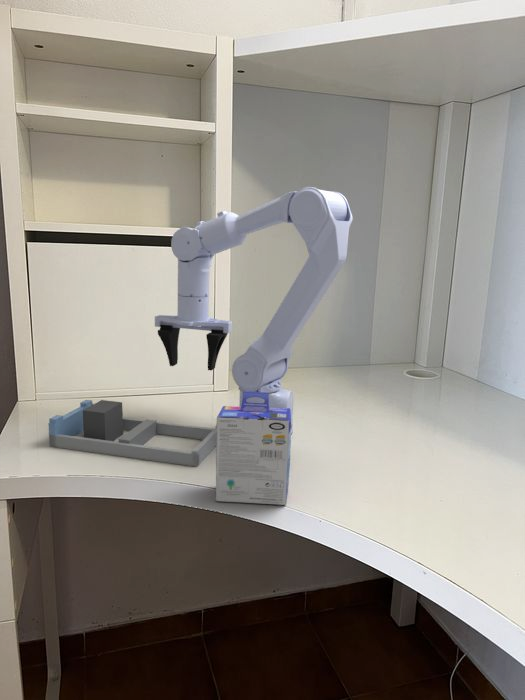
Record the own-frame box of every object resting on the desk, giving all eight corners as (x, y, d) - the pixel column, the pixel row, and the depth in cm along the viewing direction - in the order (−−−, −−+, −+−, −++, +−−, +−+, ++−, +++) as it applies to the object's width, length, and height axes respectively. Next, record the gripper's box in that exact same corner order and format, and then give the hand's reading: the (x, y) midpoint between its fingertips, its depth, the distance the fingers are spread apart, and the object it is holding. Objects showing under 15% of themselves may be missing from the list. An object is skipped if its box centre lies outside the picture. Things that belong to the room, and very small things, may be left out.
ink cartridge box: (288, 488, 79) (292, 391, 76) (288, 506, 73) (292, 403, 70) (220, 484, 79) (221, 387, 76) (214, 502, 74) (215, 399, 71)
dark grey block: (123, 434, 97) (122, 402, 96) (105, 447, 91) (104, 412, 90) (102, 432, 98) (101, 399, 97) (84, 444, 92) (82, 410, 91)
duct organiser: (221, 440, 96) (221, 414, 95) (196, 466, 85) (197, 438, 84) (88, 423, 102) (87, 399, 101) (49, 446, 91) (48, 419, 90)
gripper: (147, 294, 98) (147, 367, 101) (224, 300, 95) (222, 376, 98) (163, 290, 105) (163, 359, 108) (236, 296, 102) (233, 367, 105)
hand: (192, 367), depth 103 cm, fingers open, 7 cm apart
